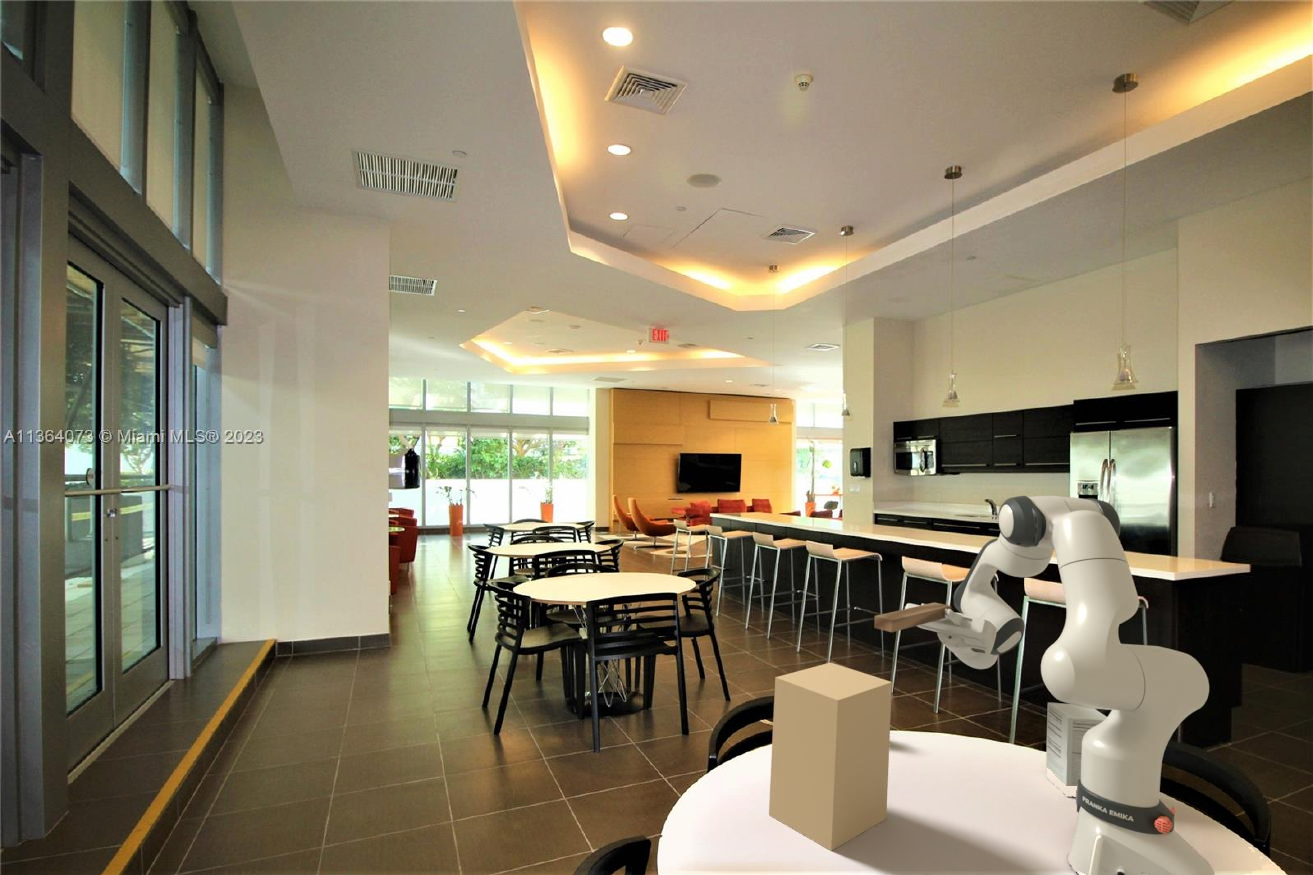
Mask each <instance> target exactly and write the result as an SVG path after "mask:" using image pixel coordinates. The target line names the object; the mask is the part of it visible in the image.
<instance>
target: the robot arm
mask: <svg viewBox="0 0 1313 875" xmlns="http://www.w3.org/2000/svg"><path fill="white" fill-rule="evenodd" d="M997 521H998V528H999V531H1000V533H999V536H998V538H997V537H996V538H992V539H990V540H988V541H987V542H986V543H984V545H983V546H982V548H981V549H980V551H979V552H978V553H977V555H976V557H975V558H974V559H975V560H973V563H972V565H971V566H970V569H969V570H968V572H967V574H966V576H965V578H964V580H963V581H961V583H960V584H959V585H958V587H957V588H956V589H955V591H954V594H953V606H954V607H955V609H956V610H957V611H958V612H954V611H953V610H952V608H951V609H946V608H944V612H943V616H944V617H945V618H944V619H940V620H936V621H933V622H929V623H925V624H921V625H917V626H916V627H918V628H920V629H922V630H926V631H927V630H928V631H930V632H935V633H937V637H938V639H939V641H940V642H941V643H942V644H943V645H944V646H945V647H946V648H947V649H948V650H949V651H950V652H951V653H953V654H954V655H955V657H957V659H958V660H960V661H961V662H962V663H963V664H965V665H967V666H969V667H971V668H973V669H976V670H985V669H989V668H991V667H992V666H993V665H994V664H996V661H997V660H998V657H999V656H1000V655H1004V654H1006V653H1008V652H1010V651H1012V650H1013V649H1015V648H1016V647H1017V646H1018V645H1019V644H1020V643H1021V641H1023V640H1022V639H1023V637H1024V635H1025V629H1026V628H1025V627H1026V624H1025V621H1024V619H1023V618H1022V617H1021V616H1020V615H1019V614H1018V613H1017V612H1016V611H1015V610H1014V609H1013V608H1012V607H1011V606H1010V605H1008V603H1006V602H1005V601H1004V600H1003V599H1002V597H1000V595H998V593H996V591H995V590H994V588H993V587H992V584H991V582H992V580H993V578H994V577H995V575H996V573H997V571H1000V572H1002V573H1004V574H1006V575H1008V576H1012V577H1015V578H1017V577H1018V578H1031V577H1035V576H1037V575H1039V574H1041V573H1043V572H1044V571H1045V570H1046V568H1047V567H1048V565H1049V564H1050V562H1051V559H1052V556H1053V554H1054V552H1055V557H1056V562H1057V566H1058V571H1059V575H1060V581H1061V585H1062V589H1063V596H1064V600H1065V606H1066V614H1065V615H1066V616H1065V617H1066V618H1065V623H1064V626H1063V629H1062V632H1061V633H1060V636H1059V637H1058V639H1057V640H1056V641H1054V643H1052V644H1051V645H1050V646H1049V647H1048V648H1047V649H1046V650H1045V652H1044V654H1043V656H1042V657H1041V663H1040V674H1041V678H1042V681H1043V683H1044V685H1045V686H1046V687H1045V688H1047V690H1048V691H1049V692H1050V693H1051V695H1052V696H1053V697H1054V698H1055V699H1056V700H1058V701H1059V702H1063V703H1065V704H1073V705H1077V706H1081V707H1085V708H1091V709H1096V710H1106V711H1107V710H1109V711H1110V712H1109V714H1108V716H1106V717H1107V718H1106V719H1105V720H1104V721H1103V722H1101V723H1100V724H1098V725H1096V726H1094V727H1092V728H1091V729H1089V730H1088V731H1087V732H1086V733H1085V735H1084V737H1083V740H1082V755H1081V779H1078V785H1077V790H1076V798H1075V804H1076V812H1077V820H1076V825H1075V830H1074V835H1073V840H1072V841H1071V842H1072V843H1071V845H1070V849H1069V851H1070V856H1071V859H1072V861H1073V863H1074V865H1075V866H1076V869H1077V870H1079V871H1080V872H1082V873H1084V874H1086V875H1216V874H1215V872H1214V871H1215V870H1214V869H1213V867H1212V865H1211V864H1210V862H1209V860H1207V859H1206V858H1204V856H1203V855H1202V854H1201V853H1199V852H1198V851H1197V850H1196V849H1195V848H1194V847H1193V846H1192V845H1191V844H1190V843H1189V842H1188V841H1186V839H1185V838H1183V837H1182V836H1181V835H1180V833H1178V832H1177V831H1176V829H1175V817H1176V814H1175V813H1176V809H1175V807H1174V806H1173V807H1171V809H1169V807H1167V806H1166V805H1165V804H1164V803H1163V802H1162V800H1161V799H1160V791H1161V790H1160V789H1161V788H1160V787H1161V776H1162V775H1161V773H1162V765H1163V762H1162V761H1163V758H1164V753H1165V751H1166V747H1167V745H1168V743H1169V741H1170V740H1171V738H1172V736H1173V734H1174V732H1175V731H1176V729H1177V728H1178V727H1179V726H1180V724H1182V722H1183V721H1184V720H1185V719H1186V718H1187V717H1188V716H1190V715H1191V714H1192V713H1194V712H1196V711H1197V710H1200V709H1201V708H1202V707H1203V706H1204V705H1205V704H1206V702H1207V700H1208V697H1209V693H1210V683H1209V678H1208V676H1207V673H1206V672H1205V670H1204V668H1203V666H1202V665H1201V664H1200V662H1199V661H1198V660H1197V659H1196V658H1195V657H1193V656H1192V655H1190V654H1188V653H1185V652H1182V651H1179V650H1175V649H1171V648H1167V647H1163V646H1158V645H1145V644H1144V645H1143V644H1130V643H1129V644H1128V643H1121V641H1120V637H1119V627H1120V624H1123V623H1125V622H1126V621H1128V620H1130V619H1131V618H1132V617H1133V616H1134V615H1135V614H1136V613H1137V611H1138V609H1139V607H1140V600H1139V596H1138V591H1137V589H1136V585H1135V583H1134V582H1135V581H1134V578H1133V575H1132V572H1131V569H1130V565H1129V562H1128V558H1127V556H1126V553H1125V551H1124V548H1123V546H1122V544H1121V540H1120V539H1119V537H1120V532H1121V519H1120V516H1119V514H1118V512H1117V510H1116V509H1115V508H1114V506H1113V505H1112V504H1111V503H1109V502H1107V501H1104V500H1101V499H1096V498H1093V497H1092V498H1091V497H1089V498H1088V497H1087V498H1080V497H1070V496H1059V495H1035V496H1034V495H1033V496H1027V495H1019V496H1014V497H1008V498H1007V499H1006V500H1005V501H1004V502H1003V503H1002V504H1001V506H1000V508H999V512H998V520H997ZM926 604H927V603H921V604H920V605H919V604H915V603H910V602H909V603H906V605H905V606H904V609H908V608H912V607H917V606H921V605H926Z"/></svg>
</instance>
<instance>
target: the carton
mask: <svg viewBox="0 0 1313 875" xmlns="http://www.w3.org/2000/svg"><path fill="white" fill-rule="evenodd" d="M774 679H775V680H774V700H773V701H774V702H773V717H772V718H773V721H772V739H771V740H772V741H771V758H770V759H771V760H770V780H769V781H770V782H769V784H770V785H769V805H768V807H769V808H768V815H769V816H770V817H771V818H773V819H775V820H777V821H779V822H780V823H781V824H784V825H785V826H787V827H788V828H791V829H792V830H794V831H796V832H798V833H800V834H801V835H803V836H804V837H806V838H808V839H809V840H811V841H814V843H817V844H818V845H820V846H822V847H824V848H825V849H827V850H828V851H830V852H832V851H834V850H835V849H837V848H839V847H840V846H842V845H843V844H846V843H847V842H849V841H851V840H852V839H855V838H857V836H859V835H861V834H862V833H864V832H866V831H869V829H871V828H873V827H874V826H875V827H876V825H879V823H881V822H883V821H885V820H887V814H888V812H887V811H888V810H887V809H888V806H887V805H888V789H889V788H888V787H889V766H890V765H889V760H890V742H891V741H890V740H891V739H890V737H891V714H892V692H893V691H892V689H893V682H892V681H889V680H886V679H884V678H880V677H877V676H874V675H871V674H868V673H865V672H862V671H858V670H855V669H852V668H849V667H846V666H843V665H840V664H837V663H833V662H826V663H824V664H821V665H820V664H819V665H816V666H813V667H810V668H809V667H808V668H805V669H802V670H798V671H795V672H790V673H787V674H783V675H780V676H779V675H778V676H775V677H774ZM884 819H885V820H884Z"/></svg>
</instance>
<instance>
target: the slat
mask: <svg viewBox="0 0 1313 875" xmlns="http://www.w3.org/2000/svg"><path fill="white" fill-rule="evenodd" d="M925 604H926V605H921V604H920V606H917V607H912V608H908V609H905V608H904V609H900V610H899V609H898V610H895V611H891V612H887V613H883V614H877V615H874V626H873V627H874V629H877V630H880V631H881V630H882V631H885V632H889V633H894V632H898V631H902V630H906V629H909V628H913V627H917V625H921V624H925V623H929V622H933V621H936V620H940V619H944V618H945V617H944V616H943V612H944V608H946V609H951V610H952V606H951V605H948V604H944V603H938V602H931V603H930V602H929V603H925Z"/></svg>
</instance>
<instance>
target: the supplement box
mask: <svg viewBox="0 0 1313 875" xmlns="http://www.w3.org/2000/svg"><path fill="white" fill-rule="evenodd" d="M1046 714H1047V716H1046V717H1047V718H1046V722H1047V723H1046V757H1045V758H1046V760H1045V762H1046V763H1045V765H1046V766H1045V768H1046V767H1047V768H1048V769H1050V770H1051V771H1052V772H1053V774H1055V776H1056V777H1057V778H1058V779H1059V780H1060V781H1061V782H1062V783H1064V784H1065V785H1066V786H1077V785H1078V779H1081V755H1082V740H1083V737H1084V735H1085V733H1086V732H1087V731H1088V730H1089V729H1091V728H1092V727H1094V726H1096V725H1098V724H1100V723H1101V722H1103V721H1104V720H1105V719H1106V718H1107V717H1108V716H1106V715H1105V714H1103V713H1102V712H1100V711H1099V710H1098V709H1091V708H1085V707H1081V706H1077V705H1073V704H1070V703H1059V702H1047V713H1046Z"/></svg>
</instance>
